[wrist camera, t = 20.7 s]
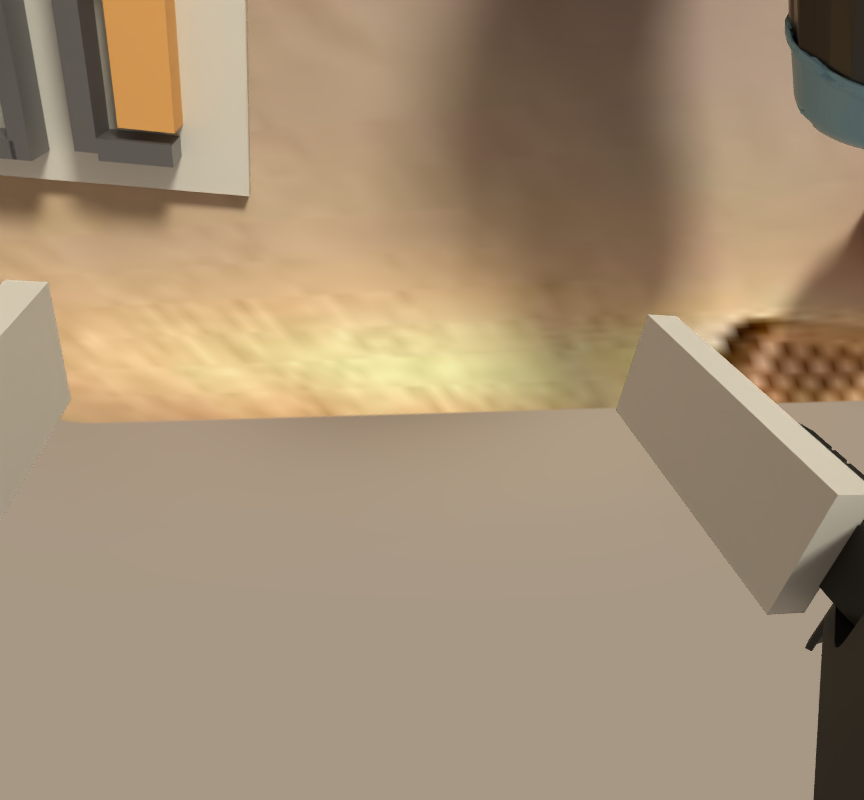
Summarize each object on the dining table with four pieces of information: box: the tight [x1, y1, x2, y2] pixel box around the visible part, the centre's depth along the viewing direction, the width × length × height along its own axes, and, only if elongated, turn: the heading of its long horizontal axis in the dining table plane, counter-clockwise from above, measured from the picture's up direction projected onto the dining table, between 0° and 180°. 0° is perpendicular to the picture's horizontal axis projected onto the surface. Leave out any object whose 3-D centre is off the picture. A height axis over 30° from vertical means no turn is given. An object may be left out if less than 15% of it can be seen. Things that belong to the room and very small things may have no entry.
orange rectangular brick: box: [102, 0, 183, 133], centre depth 35 cm, size 8×3×3 cm, turn 173°
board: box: [0, 0, 250, 196], centre depth 34 cm, size 16×24×4 cm, turn 83°
